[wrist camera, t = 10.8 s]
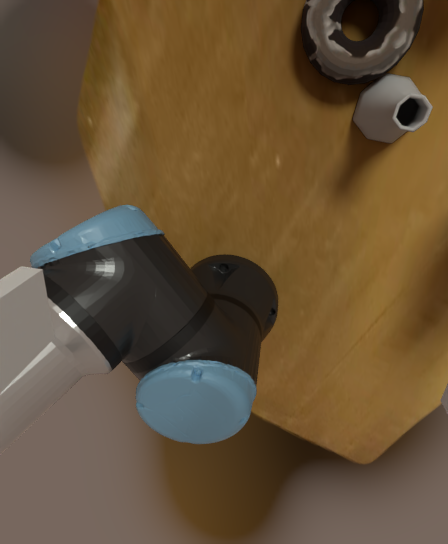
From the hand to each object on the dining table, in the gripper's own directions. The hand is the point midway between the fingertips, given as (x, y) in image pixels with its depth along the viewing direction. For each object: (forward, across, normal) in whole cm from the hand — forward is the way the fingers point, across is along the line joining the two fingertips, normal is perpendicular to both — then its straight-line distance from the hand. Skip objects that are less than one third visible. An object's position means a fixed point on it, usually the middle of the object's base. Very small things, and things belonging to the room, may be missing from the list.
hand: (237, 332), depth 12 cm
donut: (+39, -6, -14) cm, 42 cm away
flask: (+39, -11, -6) cm, 41 cm away
